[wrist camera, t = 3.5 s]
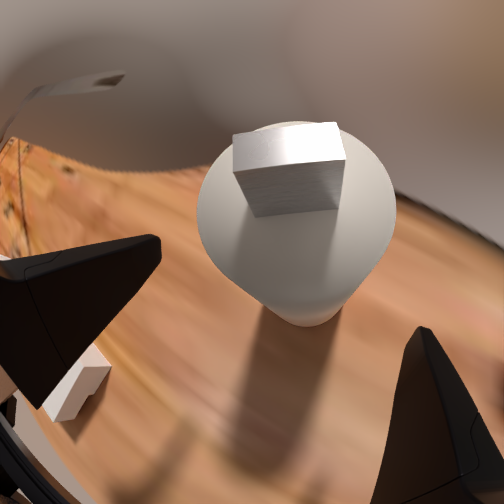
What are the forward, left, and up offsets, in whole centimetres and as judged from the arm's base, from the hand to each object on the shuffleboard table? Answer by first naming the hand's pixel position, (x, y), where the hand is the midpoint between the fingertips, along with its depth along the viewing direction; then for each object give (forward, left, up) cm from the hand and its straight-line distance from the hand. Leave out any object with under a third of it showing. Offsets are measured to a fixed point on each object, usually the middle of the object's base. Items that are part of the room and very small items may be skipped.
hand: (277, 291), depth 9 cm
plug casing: (+1, +2, -10) cm, 10 cm away
